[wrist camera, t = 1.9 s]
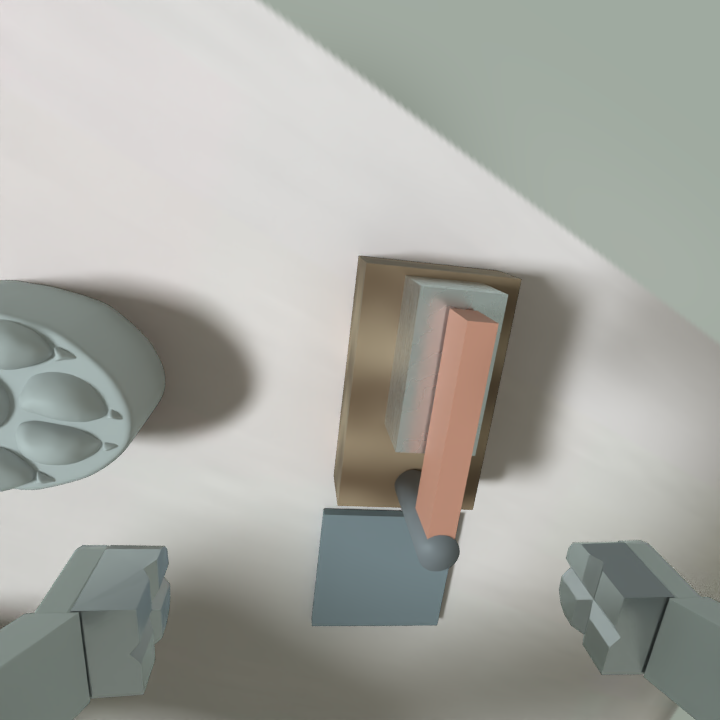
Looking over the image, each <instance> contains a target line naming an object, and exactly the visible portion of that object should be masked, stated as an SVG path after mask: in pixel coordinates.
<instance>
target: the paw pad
mask: <svg viewBox="0 0 720 720" xmlns="http://www.w3.org/2000/svg"><path fill="white" fill-rule="evenodd" d="M164 389H165V373H164V369H163V366H162V364H161V361H160V359H159V357H158V355H157V353H156V351H155V350H154V348H153V346H152V345H151V343H150V342H149V341H148V339H147V338H146V337H145V336H144V335H143V334H142V333H141V332H140V331H139V330H138V329H137V328H136V327H135V326H134V325H133V324H132V323H131V322H129V321H128V320H127V319H126V318H125V317H124V316H122V315H121V314H120V313H119V312H117V311H116V310H115V309H113V308H112V307H111V306H109V305H107V304H105V303H103V302H101V301H98V300H95V299H93V298H90V297H87V296H84V295H80V294H77V293H74V292H70V291H67V290H63V289H59V288H55V287H50V286H46V285H39V284H33V283H28V282H22V281H14V280H0V491H6V490H10V489H20V490H37V489H44V488H49V487H54V486H58V485H62V484H66V483H70V482H73V481H77V480H80V479H83V478H86V477H88V476H91V475H93V474H95V473H97V472H98V471H100V470H102V469H103V468H105V467H106V466H108V465H109V464H110V463H112V462H113V461H114V460H115V459H117V458H118V457H119V456H120V455H121V454H122V453H123V452H124V451H125V450H126V448H127V447H128V446H129V444H130V443H131V442H132V440H133V439H134V437H135V436H136V435H137V433H138V432H139V430H140V429H141V427H142V426H143V425H144V423H145V422H146V420H147V419H148V417H149V416H150V415H151V413H152V412H153V410H154V409H155V407H156V406H157V404H158V403H159V401H160V400H161V398H162V396H163V393H164Z"/></svg>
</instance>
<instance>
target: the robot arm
mask: <svg viewBox="0 0 720 720" xmlns="http://www.w3.org/2000/svg"><path fill="white" fill-rule="evenodd" d="M566 560H567V561H568V563H569V565H570V568H569V569H568V570H567V571H566V572H565V573H564V574H563V575H562V577H561V582H560V587H559V594H560V603H561V606H562V609H563V612H564V615H565V616H566V618H567V620H568V621H569V623H570V625H571V626H573V627H574V628H575V629H577V630H578V631H580V632H581V633H583V634H584V638H583V646H584V647H585V649H586V651H587V652H588V654H589V656H590V657H591V659H592V660H593V662H594V664H595V665H596V667H597V668H598V670H599V672H600V673H601V675H623V674H644V677H645V678H646V679H647V680H648V681H649V682H651V683H652V684H653V685H654V686H656V687H657V688H658V689H659V690H660V691H662V692H663V693H664V694H665V695H666V696H668V697H669V698H670V699H671V700H672V701H674V702H675V703H676V704H677V705H678V706H680V707H681V708H682V709H683V710H685V711H686V712H687V713H688V714H690V715H691V716H692V717H693V718H694V719H695V720H720V603H719V602H717V601H715V600H713V599H711V598H709V597H701V596H700V595H699V594H698V593H697V592H696V591H695V590H694V589H693V588H692V587H691V586H690V585H689V584H688V583H687V582H686V581H685V580H684V579H683V578H682V577H681V576H680V575H679V574H678V573H677V572H676V571H675V570H674V569H673V568H672V567H671V566H670V565H669V564H668V563H667V562H666V561H665V560H664V559H663V558H662V557H661V556H660V555H659V554H658V553H657V552H656V551H655V550H654V549H653V548H652V547H651V546H650V544H648V543H646V542H644V541H642V540H633V541H618V542H573V543H572V544H571V546H570V547H569V548H568V552H567V556H566ZM168 564H169V562H168V551H167V548H166V547H165V546H136V545H111V546H107V545H82V546H81V547H79V548H78V549H76V550H75V552H74V553H73V555H72V556H71V558H70V559H69V561H68V562H67V564H66V565H65V567H64V568H63V570H62V571H61V573H60V575H59V576H58V578H57V579H56V581H55V582H54V584H53V585H52V587H51V588H50V590H49V591H48V593H47V594H46V596H45V597H44V599H43V601H42V602H41V604H40V605H39V607H38V608H37V610H36V611H35V613H30V614H24V615H22V616H21V617H19V618H17V619H16V620H14V621H13V622H11V623H10V624H8V625H6V626H5V627H3V628H2V629H0V720H73V719H74V718H75V717H76V716H77V715H78V714H79V713H80V712H81V711H82V710H83V709H84V708H85V707H86V706H87V705H88V704H89V703H90V699H91V698H105V697H118V696H132V695H144V692H145V689H146V686H147V683H148V680H149V677H150V674H151V671H152V668H153V665H154V662H155V648H154V645H155V644H156V643H157V642H158V641H159V640H160V639H161V638H162V637H163V634H164V630H165V627H166V624H167V619H168V613H169V607H170V583H169V582H168V581H167V580H166V579H165V577H164V575H165V573H166V570H167V567H168Z"/></svg>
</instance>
